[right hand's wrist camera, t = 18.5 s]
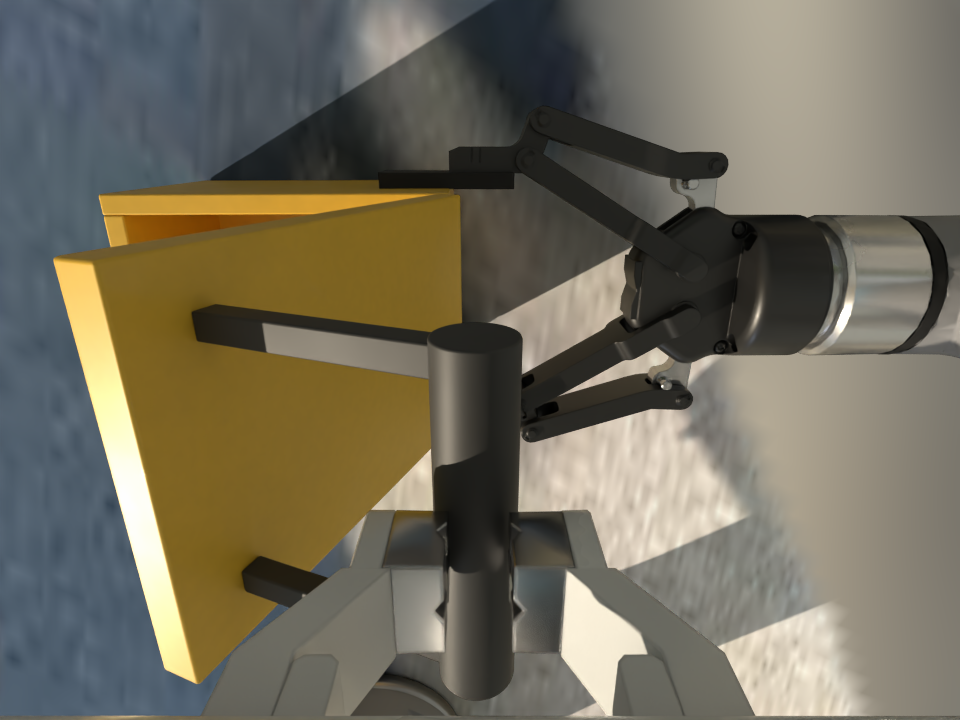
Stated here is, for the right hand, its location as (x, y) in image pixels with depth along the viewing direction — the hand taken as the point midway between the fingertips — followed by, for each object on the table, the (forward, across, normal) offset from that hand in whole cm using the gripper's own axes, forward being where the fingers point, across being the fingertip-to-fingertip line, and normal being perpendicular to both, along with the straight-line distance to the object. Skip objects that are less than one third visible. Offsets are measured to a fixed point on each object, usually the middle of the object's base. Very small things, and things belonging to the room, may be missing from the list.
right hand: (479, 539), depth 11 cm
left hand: (+21, -5, 0) cm, 21 cm away
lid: (+9, -5, 0) cm, 10 cm away
